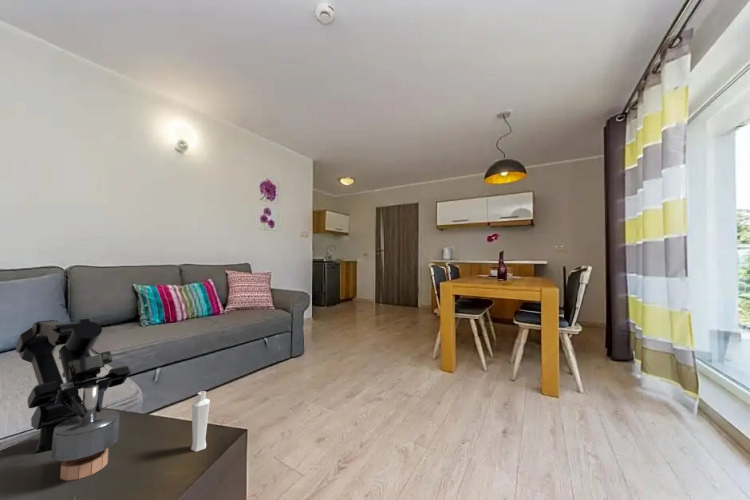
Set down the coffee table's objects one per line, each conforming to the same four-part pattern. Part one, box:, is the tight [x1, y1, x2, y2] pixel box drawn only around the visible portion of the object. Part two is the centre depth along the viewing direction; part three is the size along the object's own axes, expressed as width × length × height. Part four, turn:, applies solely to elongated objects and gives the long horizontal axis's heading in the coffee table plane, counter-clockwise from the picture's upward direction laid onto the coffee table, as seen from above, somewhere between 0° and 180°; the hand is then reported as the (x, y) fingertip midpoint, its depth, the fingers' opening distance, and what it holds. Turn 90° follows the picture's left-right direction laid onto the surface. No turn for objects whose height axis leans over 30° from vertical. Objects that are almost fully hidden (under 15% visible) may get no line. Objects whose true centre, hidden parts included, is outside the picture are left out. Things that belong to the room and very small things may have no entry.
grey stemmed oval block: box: [50, 385, 121, 462], centre depth 77 cm, size 12×12×14 cm
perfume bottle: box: [190, 390, 211, 452], centre depth 86 cm, size 5×4×15 cm
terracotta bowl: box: [59, 447, 109, 481], centre depth 76 cm, size 8×8×3 cm
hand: (91, 413), depth 76 cm, fingers closed on grey stemmed oval block, 3 cm apart
